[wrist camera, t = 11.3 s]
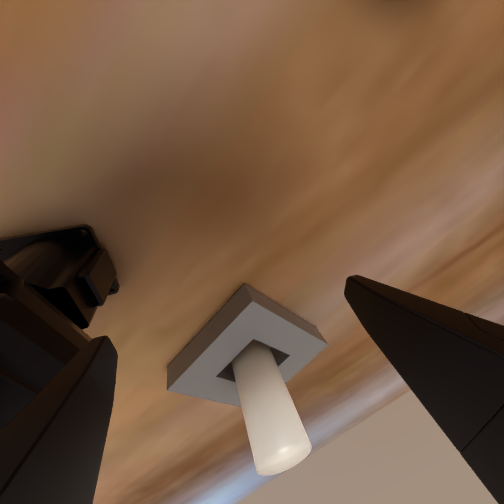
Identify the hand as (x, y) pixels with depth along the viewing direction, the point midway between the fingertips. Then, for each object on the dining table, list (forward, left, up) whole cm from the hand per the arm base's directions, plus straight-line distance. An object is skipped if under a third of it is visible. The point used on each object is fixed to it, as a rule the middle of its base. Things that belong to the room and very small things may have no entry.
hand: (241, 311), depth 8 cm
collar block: (+2, -19, -13) cm, 23 cm away
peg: (+2, -19, -13) cm, 23 cm away
